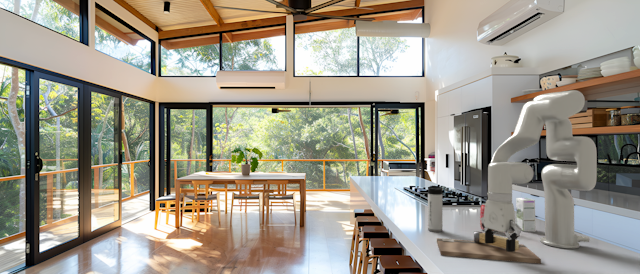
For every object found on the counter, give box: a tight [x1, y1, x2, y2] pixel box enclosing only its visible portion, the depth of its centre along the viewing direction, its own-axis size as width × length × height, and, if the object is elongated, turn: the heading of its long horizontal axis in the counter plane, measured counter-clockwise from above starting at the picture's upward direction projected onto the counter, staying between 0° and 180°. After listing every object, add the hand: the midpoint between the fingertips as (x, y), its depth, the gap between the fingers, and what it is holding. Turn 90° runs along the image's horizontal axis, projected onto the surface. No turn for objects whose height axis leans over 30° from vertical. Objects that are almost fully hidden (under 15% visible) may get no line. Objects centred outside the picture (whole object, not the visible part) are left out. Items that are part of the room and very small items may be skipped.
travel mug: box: [427, 185, 443, 233], centre depth 153 cm, size 6×7×20 cm
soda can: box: [479, 202, 496, 233], centre depth 153 cm, size 7×7×12 cm
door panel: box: [436, 237, 542, 265], centre depth 122 cm, size 31×17×2 cm, turn 76°
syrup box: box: [515, 197, 537, 233], centre depth 155 cm, size 6×6×14 cm
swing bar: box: [473, 230, 520, 251], centre depth 122 cm, size 16×3×4 cm, turn 34°
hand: (499, 247), depth 117 cm, fingers open, 9 cm apart
